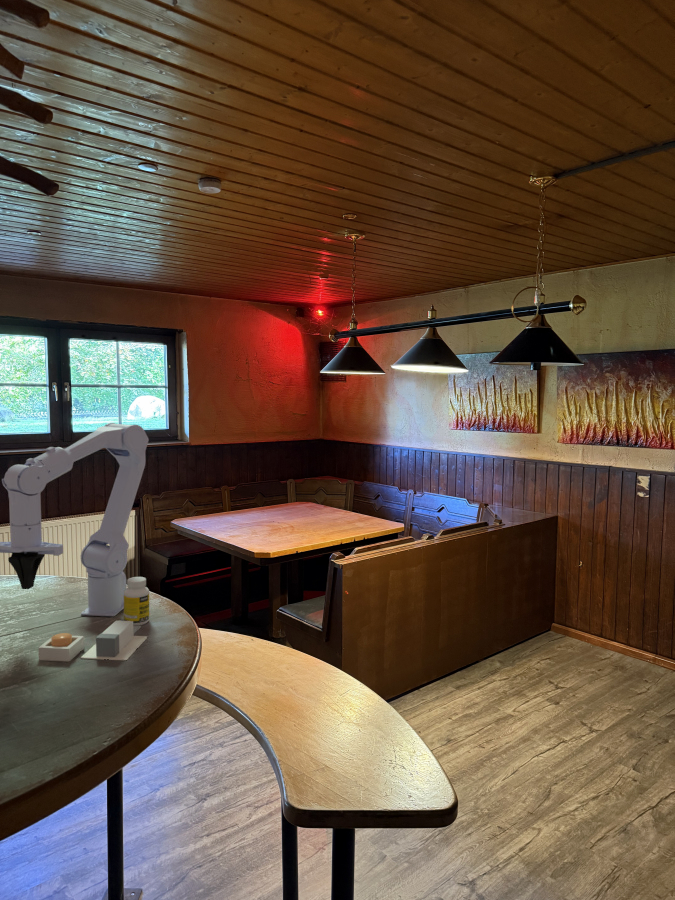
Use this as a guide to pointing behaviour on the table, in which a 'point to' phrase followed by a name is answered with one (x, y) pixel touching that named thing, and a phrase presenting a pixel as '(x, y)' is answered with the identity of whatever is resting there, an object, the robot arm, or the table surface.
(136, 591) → the supplement bottle
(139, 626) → the card
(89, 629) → the table surface
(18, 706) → the table surface
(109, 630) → the grey rectangular prism
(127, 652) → the paper sheet
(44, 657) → the button box
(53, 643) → the button
